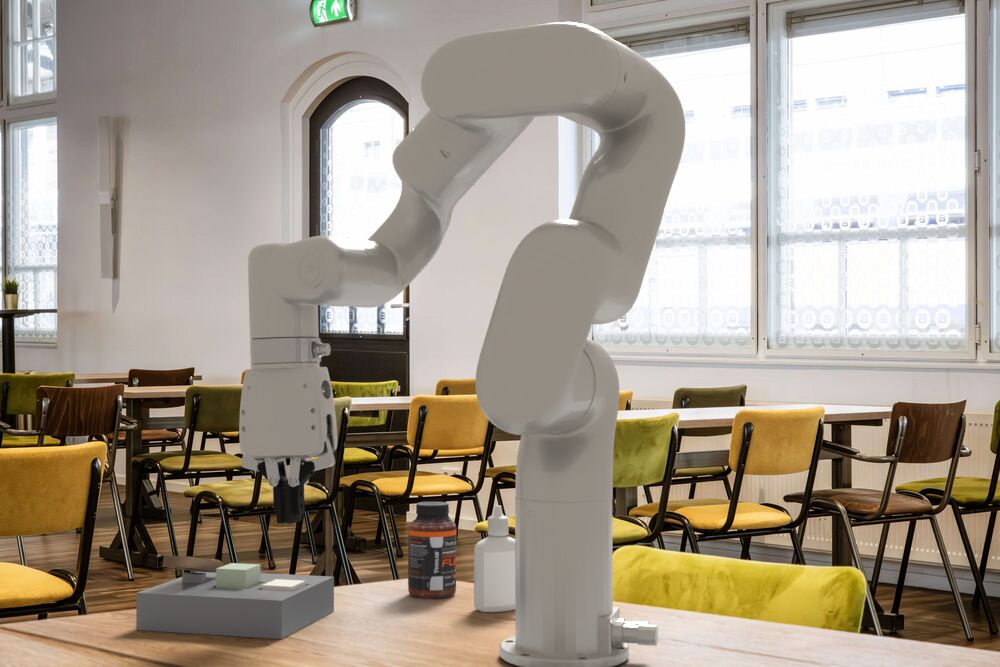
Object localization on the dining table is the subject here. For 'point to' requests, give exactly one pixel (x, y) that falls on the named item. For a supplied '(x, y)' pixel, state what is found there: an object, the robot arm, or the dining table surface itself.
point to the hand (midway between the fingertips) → (289, 521)
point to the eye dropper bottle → (495, 567)
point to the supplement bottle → (432, 552)
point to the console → (233, 606)
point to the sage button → (238, 576)
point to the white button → (284, 585)
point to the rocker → (192, 563)
